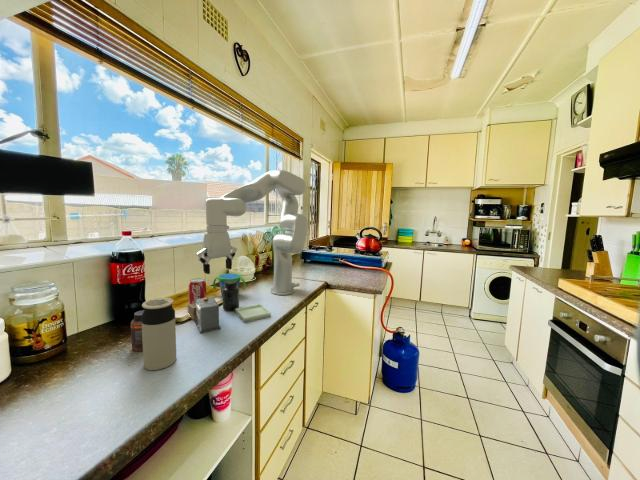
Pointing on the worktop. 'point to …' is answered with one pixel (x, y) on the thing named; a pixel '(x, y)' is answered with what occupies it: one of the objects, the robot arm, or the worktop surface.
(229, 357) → the worktop surface
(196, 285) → the soda can
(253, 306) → the tray
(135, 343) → the supplement bottle
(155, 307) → the travel mug
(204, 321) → the control box
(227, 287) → the supplement bottle
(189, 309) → the walnut block
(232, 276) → the snack cup
